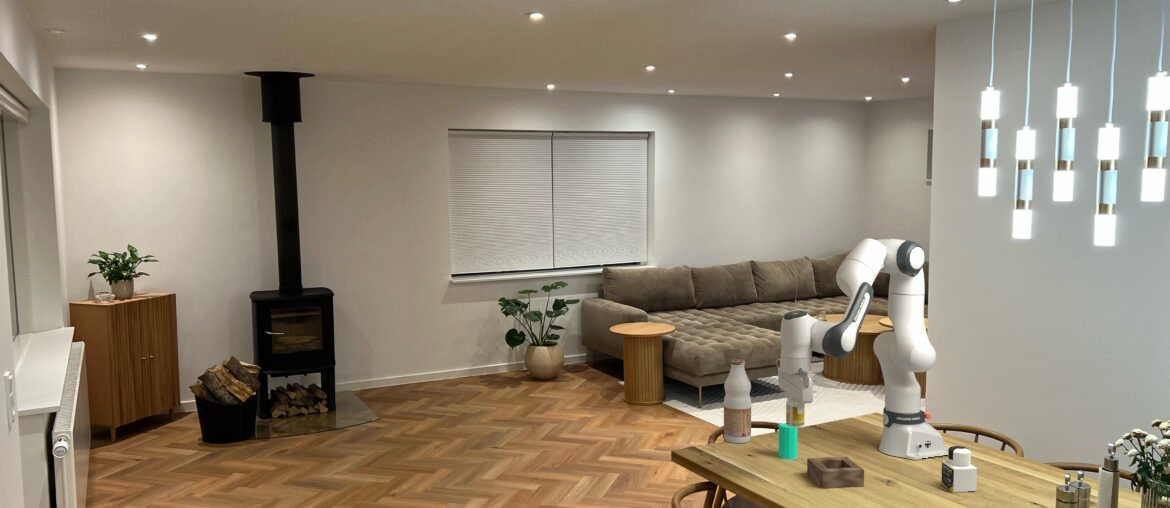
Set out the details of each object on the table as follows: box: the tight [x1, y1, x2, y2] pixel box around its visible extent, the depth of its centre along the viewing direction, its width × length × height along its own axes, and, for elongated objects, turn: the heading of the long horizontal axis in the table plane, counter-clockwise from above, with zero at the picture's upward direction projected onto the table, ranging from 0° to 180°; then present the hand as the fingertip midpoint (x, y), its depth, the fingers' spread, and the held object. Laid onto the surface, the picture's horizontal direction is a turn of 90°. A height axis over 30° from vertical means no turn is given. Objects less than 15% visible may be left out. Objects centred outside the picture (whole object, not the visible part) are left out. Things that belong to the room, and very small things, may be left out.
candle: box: [777, 422, 799, 460], centre depth 283 cm, size 6×6×12 cm
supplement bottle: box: [785, 394, 805, 428], centre depth 262 cm, size 5×5×10 cm
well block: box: [806, 456, 865, 490], centre depth 260 cm, size 12×12×5 cm
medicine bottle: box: [941, 445, 978, 493], centre depth 252 cm, size 7×7×12 cm
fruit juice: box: [723, 358, 752, 444], centre depth 301 cm, size 9×9×28 cm
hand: (795, 410), depth 262 cm, fingers closed on supplement bottle, 5 cm apart
